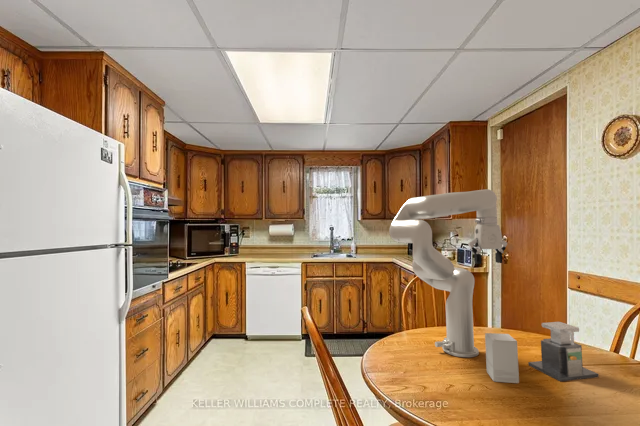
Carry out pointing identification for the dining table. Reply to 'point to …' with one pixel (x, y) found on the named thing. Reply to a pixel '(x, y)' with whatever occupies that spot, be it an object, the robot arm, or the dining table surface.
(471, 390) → the dining table surface
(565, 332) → the grey flanged block
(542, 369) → the tester
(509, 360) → the supplement box
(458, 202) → the robot arm
